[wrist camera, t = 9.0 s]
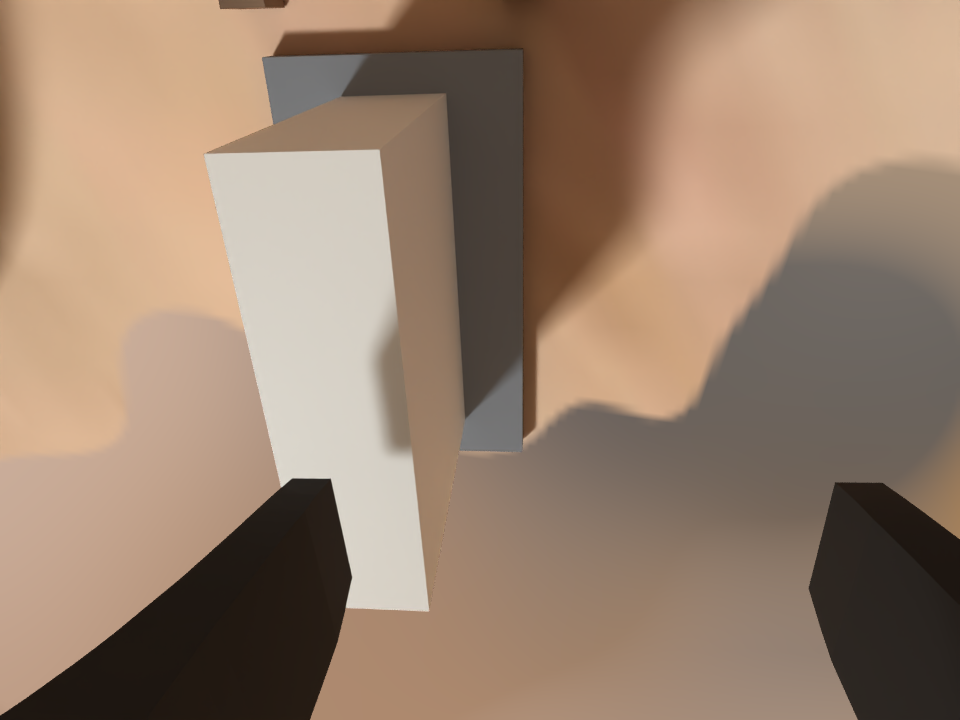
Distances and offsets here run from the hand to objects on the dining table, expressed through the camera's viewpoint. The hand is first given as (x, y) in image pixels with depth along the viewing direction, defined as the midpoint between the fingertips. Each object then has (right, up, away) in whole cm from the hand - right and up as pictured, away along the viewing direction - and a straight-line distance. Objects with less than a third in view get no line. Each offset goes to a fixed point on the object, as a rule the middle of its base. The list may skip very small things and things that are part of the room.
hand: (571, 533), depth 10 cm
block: (-3, +5, +8) cm, 10 cm away
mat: (-3, +5, +8) cm, 10 cm away
